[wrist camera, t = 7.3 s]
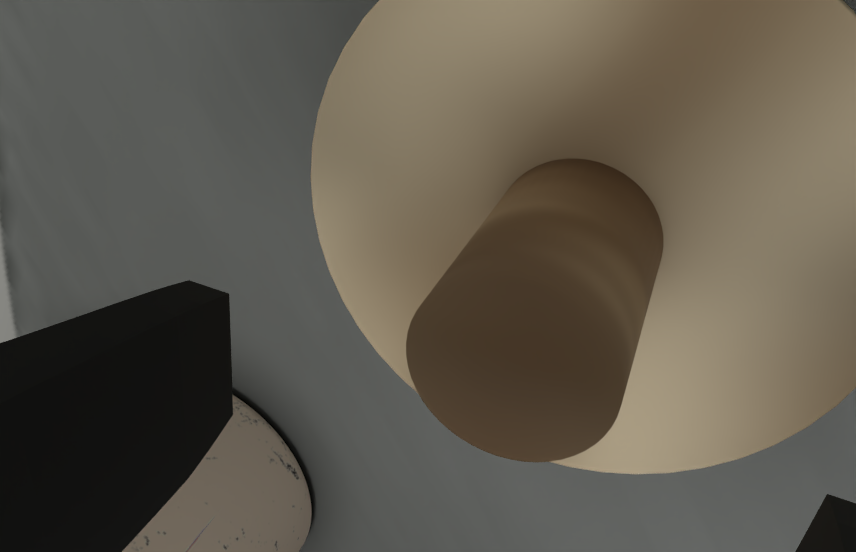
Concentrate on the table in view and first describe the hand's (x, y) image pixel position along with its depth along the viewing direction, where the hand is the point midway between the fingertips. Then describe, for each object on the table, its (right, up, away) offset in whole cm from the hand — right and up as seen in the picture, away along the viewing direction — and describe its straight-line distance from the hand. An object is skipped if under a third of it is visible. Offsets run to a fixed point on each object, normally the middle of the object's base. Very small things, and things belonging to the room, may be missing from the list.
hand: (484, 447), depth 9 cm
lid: (+2, +3, +4) cm, 6 cm away
